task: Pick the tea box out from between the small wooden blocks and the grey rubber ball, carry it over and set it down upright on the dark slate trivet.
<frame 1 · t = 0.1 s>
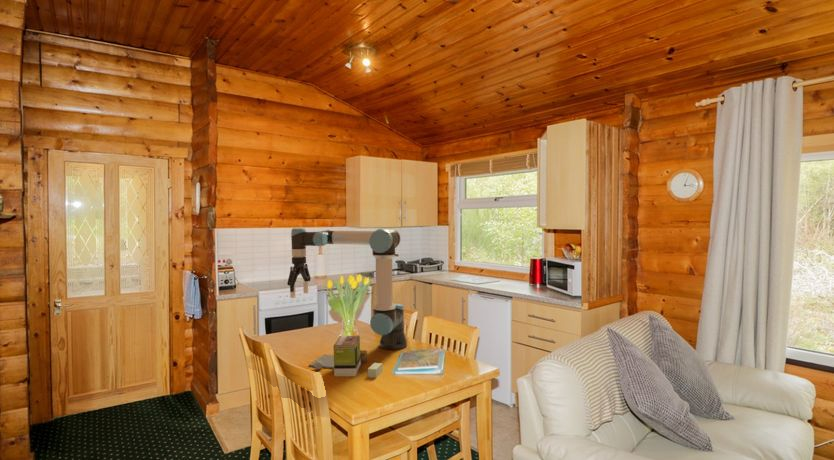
hand: (299, 295, 252), 28 cm above the table, fingers open, 13 cm apart
tea box: (347, 371, 215), on the table
grey rubber ball: (318, 365, 216), point 2 cm above the table
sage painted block: (375, 374, 210), on the table
slate trivet: (328, 362, 227), on the table
walnut cube: (360, 362, 227), on the table
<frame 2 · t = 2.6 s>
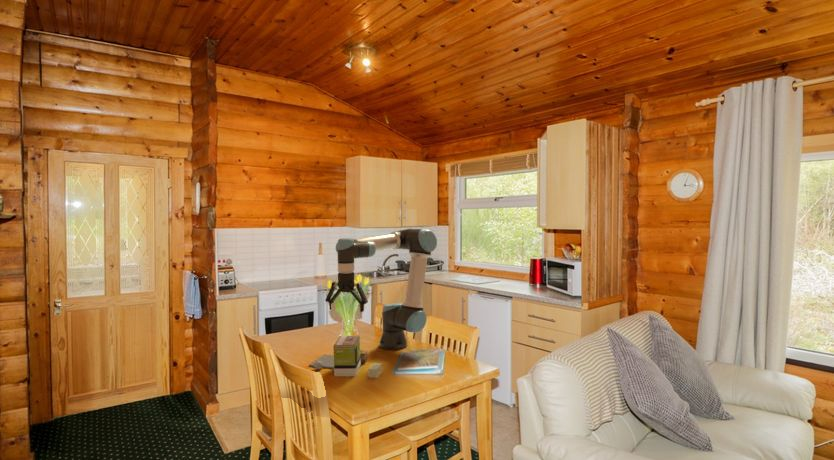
hand: (346, 317, 213), 25 cm above the table, fingers open, 13 cm apart
nothing on the table moved.
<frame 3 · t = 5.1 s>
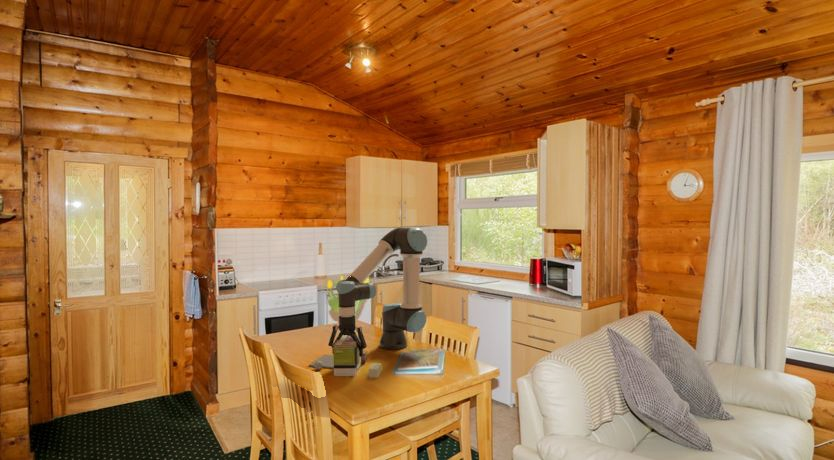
hand: (347, 362, 214), 4 cm above the table, fingers closed on tea box, 11 cm apart
tea box: (347, 371, 215), on the table, touching gripper
everything else where it was.
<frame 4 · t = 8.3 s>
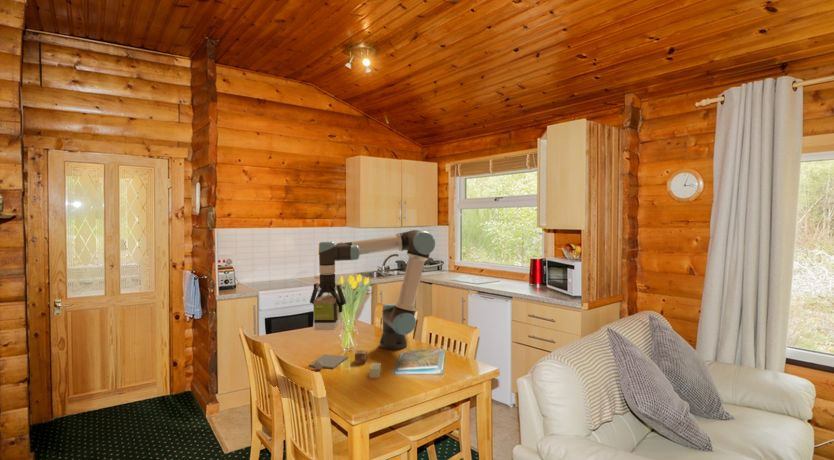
hand: (328, 318, 225), 22 cm above the table, fingers closed on tea box, 11 cm apart
tea box: (328, 326, 226), point 17 cm above the table, touching gripper
everything else where it was.
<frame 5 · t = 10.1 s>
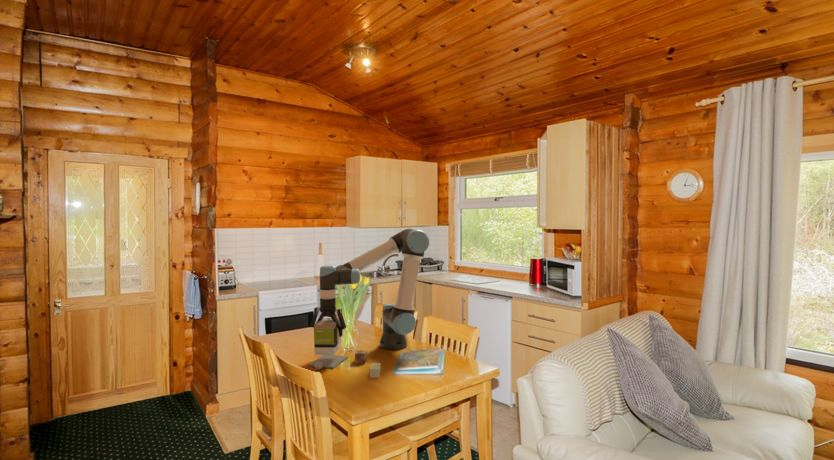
hand: (328, 342, 226), 10 cm above the table, fingers closed on tea box, 11 cm apart
tea box: (328, 350, 226), point 6 cm above the table, touching gripper
everything else where it was.
when the fingers open (6 cm above the table, at t = 11.6 s): tea box stays where it is, resting on slate trivet.
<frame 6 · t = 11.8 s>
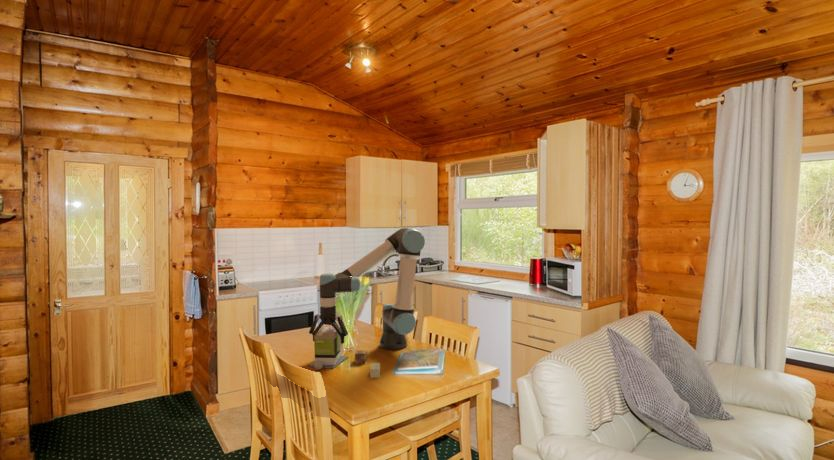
hand: (328, 349, 226), 7 cm above the table, fingers open, 12 cm apart
tea box: (328, 360, 227), point 1 cm above the table, touching slate trivet
everything else where it was.
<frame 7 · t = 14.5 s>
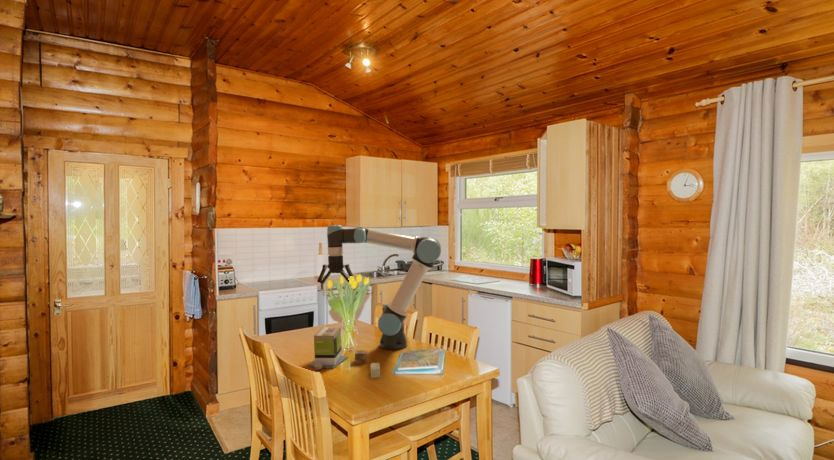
hand: (337, 296, 239), 30 cm above the table, fingers open, 13 cm apart
nothing on the table moved.
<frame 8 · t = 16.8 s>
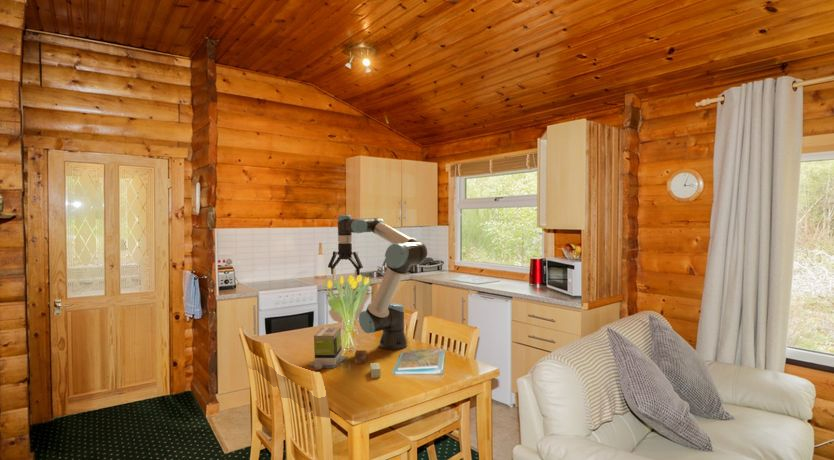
hand: (345, 280, 259), 35 cm above the table, fingers open, 13 cm apart
nothing on the table moved.
at the end: tea box 0.1 cm from the slate trivet (horizontally); tea box tilted 0°; the gripper is holding nothing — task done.
